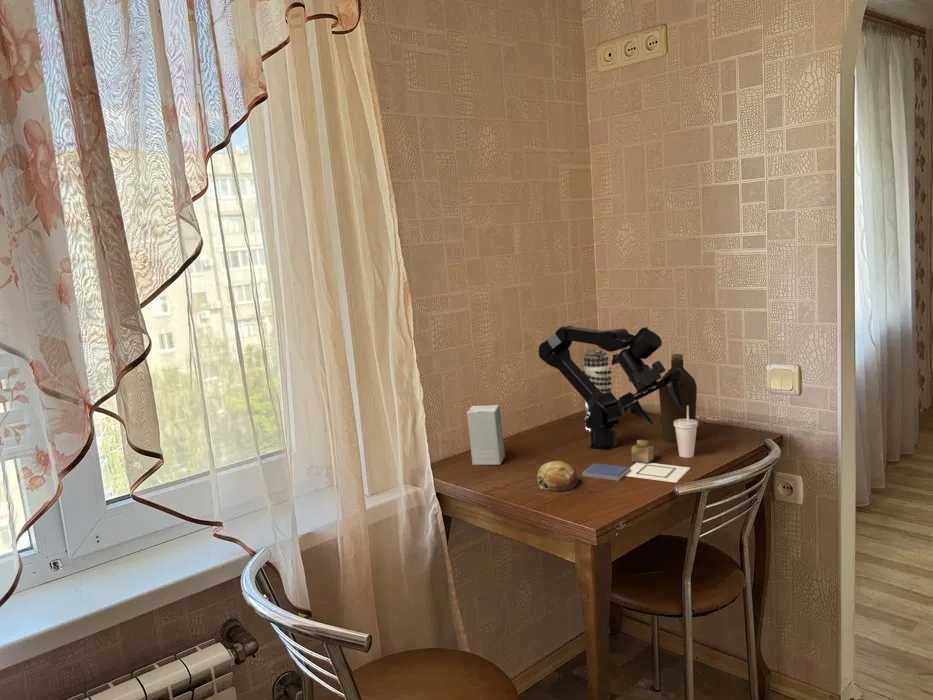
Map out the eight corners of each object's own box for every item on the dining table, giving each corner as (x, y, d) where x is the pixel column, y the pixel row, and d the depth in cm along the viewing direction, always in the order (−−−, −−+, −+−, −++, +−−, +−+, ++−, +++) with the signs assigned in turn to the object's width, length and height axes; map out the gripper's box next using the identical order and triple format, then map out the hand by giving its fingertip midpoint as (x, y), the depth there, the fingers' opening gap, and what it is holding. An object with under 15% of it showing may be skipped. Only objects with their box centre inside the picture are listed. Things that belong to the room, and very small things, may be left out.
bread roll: (534, 498, 181) (524, 474, 178) (556, 471, 187) (547, 448, 183) (566, 507, 174) (556, 482, 171) (588, 479, 180) (578, 454, 176)
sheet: (621, 476, 183) (621, 474, 182) (637, 462, 192) (637, 460, 192) (676, 483, 175) (676, 481, 175) (690, 468, 185) (690, 467, 185)
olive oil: (705, 438, 210) (704, 354, 206) (679, 445, 205) (677, 359, 201) (678, 431, 219) (676, 350, 215) (652, 438, 214) (650, 355, 210)
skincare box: (505, 458, 203) (502, 404, 201) (499, 466, 196) (496, 410, 194) (476, 458, 206) (472, 404, 203) (469, 465, 199) (466, 410, 196)
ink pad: (582, 476, 184) (581, 471, 184) (594, 467, 191) (594, 462, 191) (619, 481, 179) (619, 476, 179) (630, 471, 185) (630, 466, 185)
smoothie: (700, 459, 191) (699, 408, 189) (675, 459, 193) (674, 408, 191) (697, 452, 198) (696, 402, 196) (673, 452, 199) (672, 403, 197)
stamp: (631, 461, 192) (631, 441, 192) (637, 458, 196) (637, 438, 195) (648, 463, 189) (648, 443, 189) (653, 460, 193) (653, 440, 193)
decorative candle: (616, 425, 230) (613, 348, 227) (609, 433, 222) (606, 353, 218) (588, 424, 234) (585, 348, 230) (580, 431, 226) (577, 353, 222)
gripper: (608, 373, 187) (641, 424, 181) (670, 341, 189) (704, 390, 183) (604, 388, 197) (635, 436, 191) (662, 357, 199) (695, 404, 193)
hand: (667, 417), depth 189 cm, fingers open, 9 cm apart
